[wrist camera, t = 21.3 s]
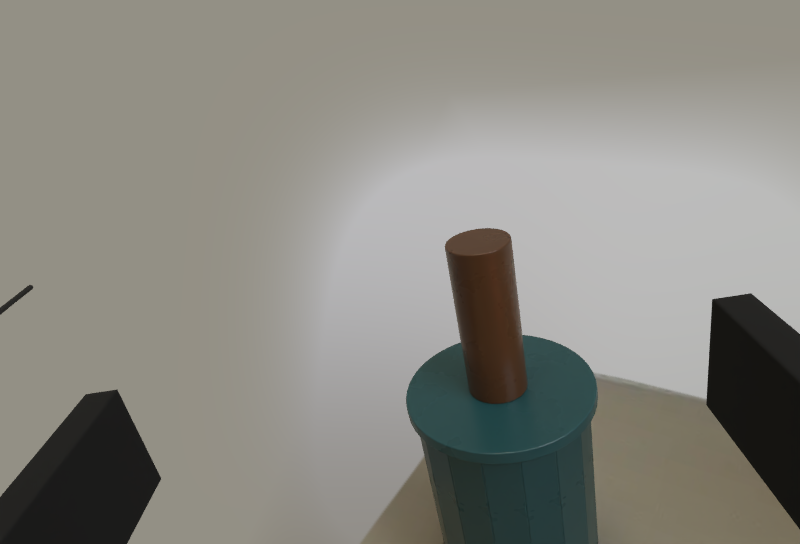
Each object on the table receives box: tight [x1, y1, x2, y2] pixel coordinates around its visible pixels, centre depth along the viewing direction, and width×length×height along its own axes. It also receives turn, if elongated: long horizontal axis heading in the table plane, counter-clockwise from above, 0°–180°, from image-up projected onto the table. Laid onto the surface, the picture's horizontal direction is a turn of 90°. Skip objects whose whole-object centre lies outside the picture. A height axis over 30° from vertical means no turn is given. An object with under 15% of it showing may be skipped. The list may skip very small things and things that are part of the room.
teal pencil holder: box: [421, 422, 598, 544], centre depth 30 cm, size 8×8×12 cm
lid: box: [406, 228, 598, 464], centre depth 26 cm, size 9×9×9 cm
